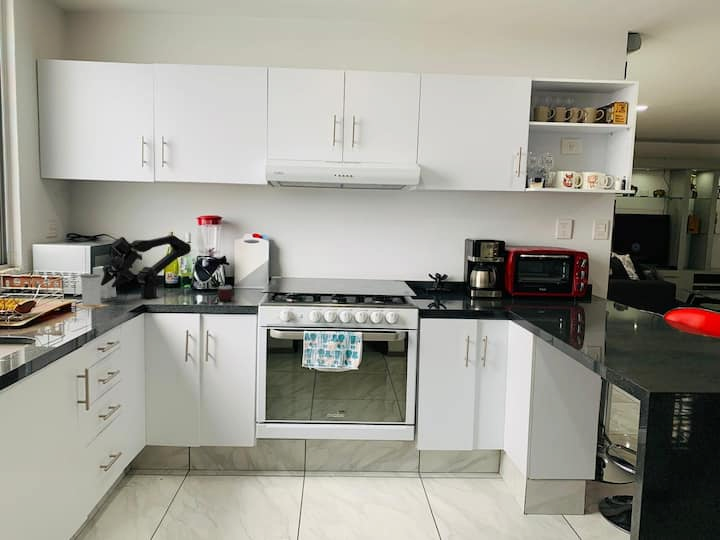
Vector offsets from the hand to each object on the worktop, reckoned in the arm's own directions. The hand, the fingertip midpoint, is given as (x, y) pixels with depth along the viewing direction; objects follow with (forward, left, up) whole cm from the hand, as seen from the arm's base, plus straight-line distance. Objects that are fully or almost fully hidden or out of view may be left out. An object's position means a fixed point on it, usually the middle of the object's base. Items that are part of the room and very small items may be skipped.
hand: (106, 286), depth 255 cm
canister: (+7, 0, -8) cm, 11 cm away
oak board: (+8, 0, -9) cm, 12 cm away
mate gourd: (-41, +34, -9) cm, 54 cm away
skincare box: (-8, -18, -9) cm, 21 cm away
